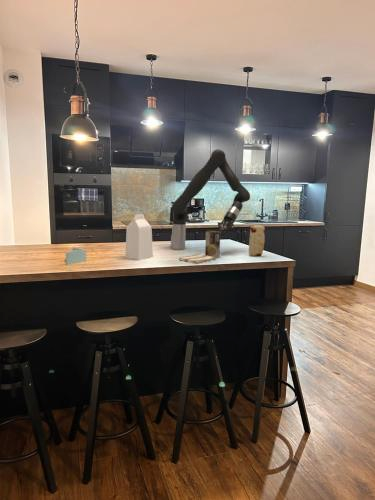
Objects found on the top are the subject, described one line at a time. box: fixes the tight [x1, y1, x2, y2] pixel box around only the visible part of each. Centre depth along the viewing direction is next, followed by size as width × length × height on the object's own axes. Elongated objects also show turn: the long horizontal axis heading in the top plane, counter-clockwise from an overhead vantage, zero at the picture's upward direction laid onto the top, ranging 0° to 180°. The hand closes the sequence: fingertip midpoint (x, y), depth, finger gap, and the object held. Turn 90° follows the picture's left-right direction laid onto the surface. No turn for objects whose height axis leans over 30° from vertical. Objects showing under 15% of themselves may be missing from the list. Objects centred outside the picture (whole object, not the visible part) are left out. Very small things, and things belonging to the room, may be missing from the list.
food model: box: [248, 224, 266, 257], centre depth 228 cm, size 10×7×20 cm
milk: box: [124, 213, 154, 261], centre depth 213 cm, size 12×12×26 cm
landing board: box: [178, 253, 217, 265], centre depth 213 cm, size 14×17×2 cm
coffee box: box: [204, 230, 221, 259], centre depth 222 cm, size 9×6×16 cm
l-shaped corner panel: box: [64, 246, 87, 266], centre depth 199 cm, size 12×12×8 cm
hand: (219, 235), depth 226 cm, fingers closed
